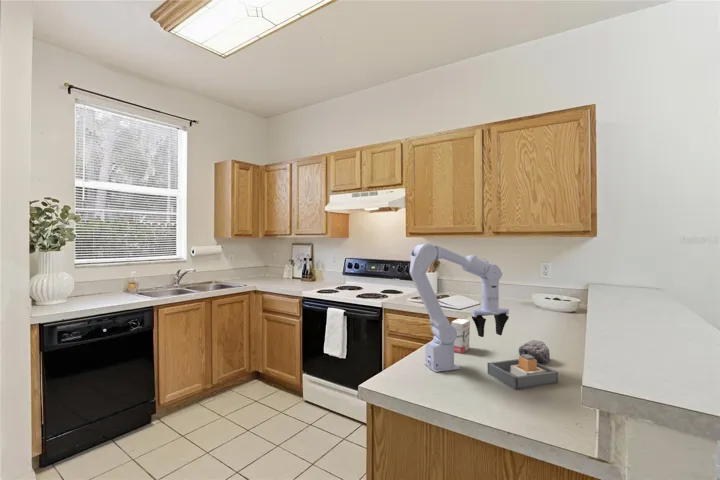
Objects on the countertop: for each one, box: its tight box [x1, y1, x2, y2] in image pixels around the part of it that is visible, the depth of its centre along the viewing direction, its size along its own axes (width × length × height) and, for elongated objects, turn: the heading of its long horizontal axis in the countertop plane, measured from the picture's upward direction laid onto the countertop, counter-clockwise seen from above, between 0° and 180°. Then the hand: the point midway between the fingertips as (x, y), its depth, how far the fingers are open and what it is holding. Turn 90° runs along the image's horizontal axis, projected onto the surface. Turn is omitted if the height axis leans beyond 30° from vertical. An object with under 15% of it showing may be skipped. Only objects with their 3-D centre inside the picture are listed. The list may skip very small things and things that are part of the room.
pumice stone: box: [518, 339, 551, 365], centre depth 125 cm, size 10×8×10 cm
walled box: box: [487, 358, 559, 391], centre depth 109 cm, size 16×13×4 cm
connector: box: [518, 354, 537, 372], centre depth 110 cm, size 4×4×6 cm
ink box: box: [450, 318, 471, 354], centre depth 137 cm, size 9×5×12 cm, turn 143°
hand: (490, 335), depth 121 cm, fingers open, 7 cm apart
